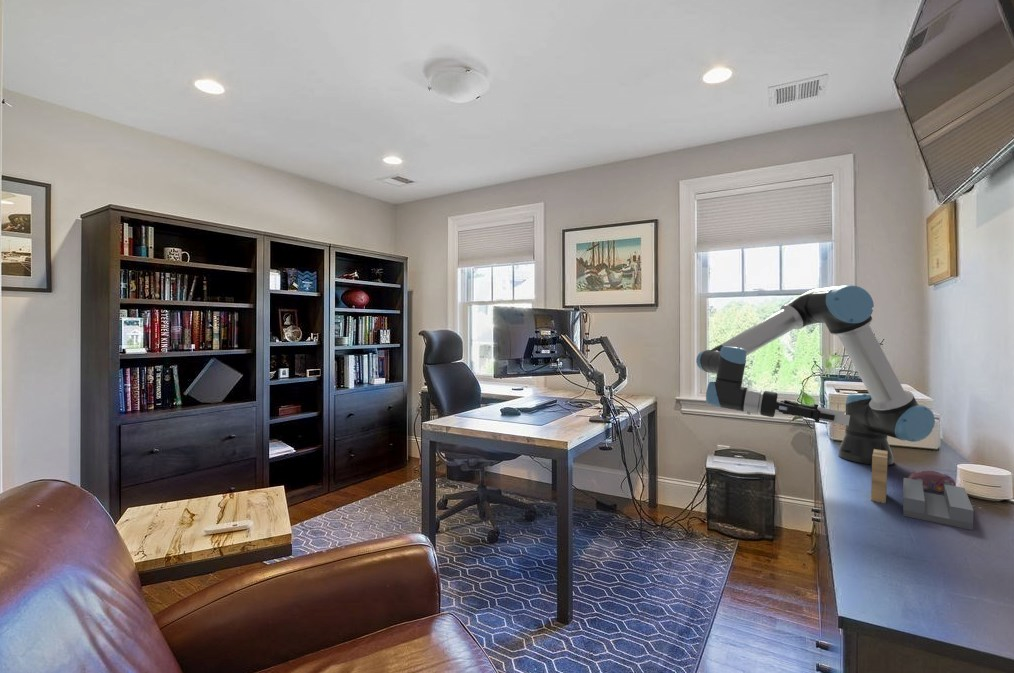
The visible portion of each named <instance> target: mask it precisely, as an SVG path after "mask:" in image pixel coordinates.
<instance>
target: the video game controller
mask: <svg viewBox="0 0 1014 673" xmlns="http://www.w3.org/2000/svg"><path fill="white" fill-rule="evenodd" d="M907 478H909V479H915V480H921V481H922V484H923V491H927V490H929V489H930V484H929V483H933V485H932V488H933V490H934V491H935V492H938V493H944V484H945V485H951V486H956V482H955V479H953V478H952V477H951V476H950V474H948V473H944V474H943V473H940V472H938V471H933V470H923V471H921V470H915V471H913V472H911V473H910V474H909V475H908V477H907Z"/></svg>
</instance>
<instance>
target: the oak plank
mask: <svg viewBox="0 0 1014 673" xmlns="http://www.w3.org/2000/svg"><path fill="white" fill-rule="evenodd" d="M887 459H888V451H884V450H877V449H874V451H873V455H872V464H871V484H870V485H871V487H870V488H871V489H870V490H871V492H870V495H871V496H870V501H871V502H875V501H876V503H880V502H881V503H880V504H886V502H887V493H888V492H887V488H888V487H887V486H888V484H887V483H888V465H887Z"/></svg>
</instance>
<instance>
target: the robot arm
mask: <svg viewBox="0 0 1014 673" xmlns="http://www.w3.org/2000/svg"><path fill="white" fill-rule="evenodd" d="M874 304H875V303H874V299H873V298H872V295H871V294H870V293H869V292H868V291H867V290H866V289H864V288H862V287H861V286H857V285H852V284H851V285H849V284H840V285H836V286H829V287H818V288H814V289H811V290H808V291H807V292H804V293H803V294H801V295H799V296H797V297H795V298H793V299H792V300H790V301H788V302H787V303H784V304H783V305H782V306H780V310H778V311H777V312H775V313H773V314H772V315H770V316H768V317H767V318H764V319H763V320H761V321H760V322H758V323H756V324H754V325H753V326H751V327H749V328H747V329H746V330H743V331H742V332H740V333H738V334H737V335H735V336H733V337H731V338H730V339H728V340H726V341H724V342H723V343H720V344H719V345H717V346H715V347H713V348H711V349H705V350H702V351H700V352H699V353H698V355H697V356H696V360H695V361H696V362H695V363H696V366H697V367H698V369H700V370H702V371H703V372H704V373H708V374H714V375H715V374H716V378H715V381H710V382H708V384H707V389H706V392H705V402H706V403H707V404H708V405H711V406H714V407H719V408H723V409H728V410H734V411H740V412H746V414H747V415H751V414H755V415H758V414H759V413H760V415H761V416H763V417H769V418H773V417H775V414H776V411H778V412H779V413H782V414H783V415H790V416H796V417H797V416H798V417H803V418H807V419H811V420H813V421H814V422H815V423H820V421H821V422H822V421H823V422H828V423H832V424H838V425H843V426H844V427H845V428H844V429H845V430H844V431H845V432H844V433H845V434H844V437H843V439H842V441H841V443H840V446H839V448H838V456H839V457H840V458H842V459H844V460H848V461H849V462H855V463H859V464H865V465H872V455H873V451H874V449H877V450H884V451H888V459H887V466H889V465H893V464H894V455H893V452H892V450H891V447H890V444H889V441H888V437H889V438H890V437H891V438H894V439H897V440H900V441H904V442H905V441H907V442H912V443H914V442H921V441H923V440H924V439H927V438H928V436H930V435H931V433H932V432H933V429H934V427H935V423H936V422H935V421H936V418H935V415H934V413H933V411H932V410H931V409H930V408H928V407H926V406H925V405H922V404H919V403H918V402H917V400H916V398H915V396H914V394H913V393H912V392H911V391H908V390H905V389H904V388H903V386H902V384H901V381H900V380H899V378H898V376H897V375H896V372H895V370H894V369H893V367H892V365H891V363H890V361H889V360H888V358H887V356H886V354H885V353H884V350H883V348H882V347H881V345H880V342H879V341H878V339H877V337H876V335H875V334H874V331H873V330H872V328H871V326H870V325H871V322H872V321H873V317H872V315H873V311H874V310H873V308H874ZM814 324H825V326H826V328H827V330H828V332H829V333H830V334H831V335H833V336H837V337H838V338H839V340H840V342H841V343H842V346H843V347H844V349H845V351H846V353H847V355H848V357H849V359H850V360H851V361H850V362H852V364H853V366H854V368H855V370H856V372H857V373H858V375H859V377H860V380H861V381H862V383H863V385H864V387H865V389H866V390H867V392H868V393H849V394H848V395H846V401H845V405H844V406H845V411H843V410H837V409H832V408H826V407H820V406H819V404H816V403H814V404H813V405H809V404H802V403H799V402H795V401H791V400H787V399H784V400H780V401H778V393H777V392H773V391H769V390H765V391H762V389H758V388H752V387H744V386H743V379H744V373H745V368H746V363H747V356H748V355H750V354H752V353H753V352H755V351H757V350H760V349H761V348H763V347H765V346H767V345H768V344H769V343H771V342H774V341H775V340H776V339H778V338H781V337H782V336H784V335H786V334H788V333H789V332H791V331H792V330H801V329H803V328H804V327H807V326H809V325H814Z"/></svg>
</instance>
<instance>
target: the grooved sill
mask: <svg viewBox="0 0 1014 673" xmlns="http://www.w3.org/2000/svg"><path fill="white" fill-rule="evenodd" d="M902 481H903V484H902V485H903V486H902V505H903V506H902V507H903V508H902V510H903V513H902V514H903V517H908V518H914V519H916V520H917V519H918V520H923V521H926V522H930V523H931V522H932V523H937V524H941V525H946V526H951V527H956V528H960V529H965V530H969V531H973V530H974V508H973V505H972V504H971V501H970V498H969V496H968V493H967V491H966V488H965V487H961V486H956V485H955V486H951V485H945V484H944V491H943V494H936V493H931V492H925V490H923V484H922V481H921V480H915V479H909V478H908V477H903V480H902Z"/></svg>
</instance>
